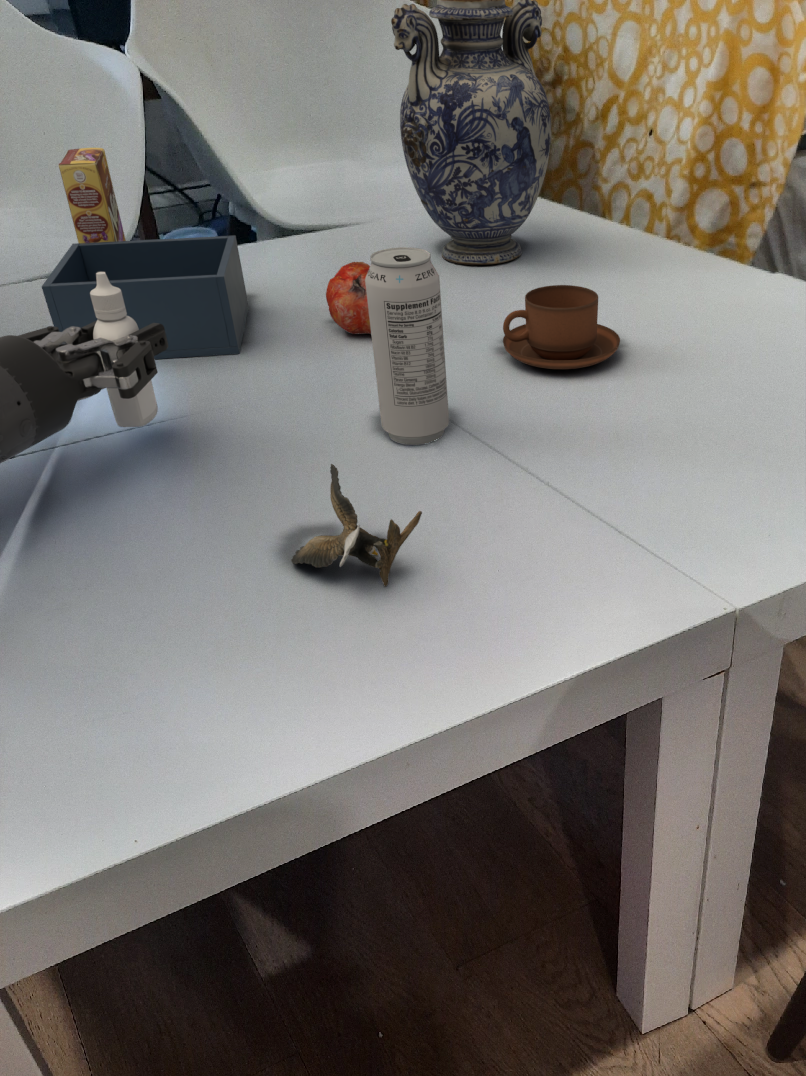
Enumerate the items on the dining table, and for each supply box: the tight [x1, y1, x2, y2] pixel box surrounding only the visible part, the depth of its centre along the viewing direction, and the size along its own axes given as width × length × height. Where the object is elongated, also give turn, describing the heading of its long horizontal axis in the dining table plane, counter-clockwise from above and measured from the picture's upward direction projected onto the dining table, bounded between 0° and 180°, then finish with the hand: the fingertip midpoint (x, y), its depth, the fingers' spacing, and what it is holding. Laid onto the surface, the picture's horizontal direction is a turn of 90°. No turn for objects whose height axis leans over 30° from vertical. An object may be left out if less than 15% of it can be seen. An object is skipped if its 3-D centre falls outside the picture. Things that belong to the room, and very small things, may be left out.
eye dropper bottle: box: [90, 272, 159, 428], centre depth 85 cm, size 4×6×12 cm
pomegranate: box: [325, 261, 371, 335], centre depth 109 cm, size 7×7×10 cm
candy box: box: [58, 147, 127, 243], centre depth 116 cm, size 9×4×15 cm, turn 13°
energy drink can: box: [365, 246, 450, 446], centre depth 86 cm, size 6×6×15 cm
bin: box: [41, 234, 250, 360], centre depth 108 cm, size 18×16×8 cm
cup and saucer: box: [502, 284, 621, 370], centre depth 102 cm, size 12×12×6 cm
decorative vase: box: [390, 0, 552, 266], centre depth 124 cm, size 21×19×28 cm
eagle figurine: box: [290, 463, 423, 587], centre depth 71 cm, size 8×7×9 cm
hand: (138, 331), depth 86 cm, fingers closed on eye dropper bottle, 4 cm apart
